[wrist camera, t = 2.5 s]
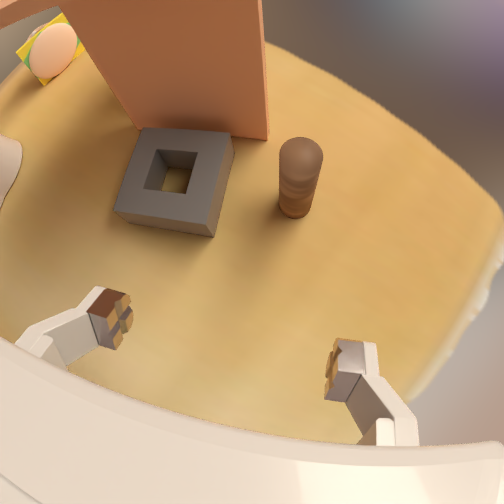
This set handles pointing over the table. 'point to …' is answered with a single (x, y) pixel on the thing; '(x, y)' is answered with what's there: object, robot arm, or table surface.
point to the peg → (298, 175)
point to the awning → (173, 59)
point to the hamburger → (50, 49)
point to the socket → (199, 188)
